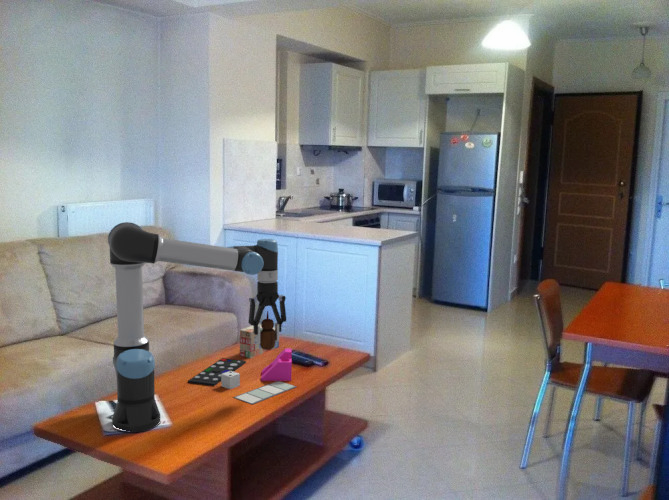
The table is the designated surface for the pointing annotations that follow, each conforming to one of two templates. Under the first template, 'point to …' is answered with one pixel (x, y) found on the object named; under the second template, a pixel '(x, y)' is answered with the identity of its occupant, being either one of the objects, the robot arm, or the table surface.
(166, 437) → the table surface
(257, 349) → the stack of blocks
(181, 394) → the table surface
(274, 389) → the game mat
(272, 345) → the wooden figurine
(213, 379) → the remote control
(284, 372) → the bracket
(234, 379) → the die
